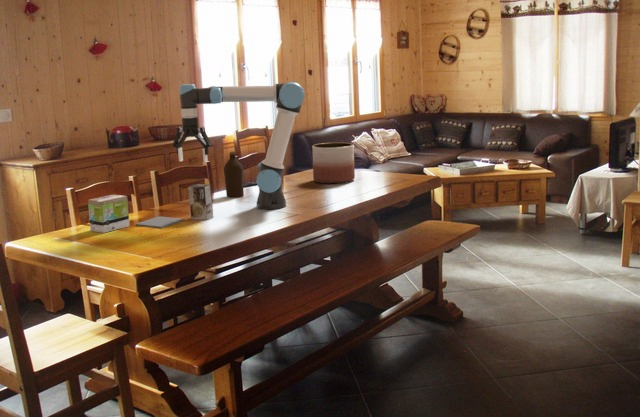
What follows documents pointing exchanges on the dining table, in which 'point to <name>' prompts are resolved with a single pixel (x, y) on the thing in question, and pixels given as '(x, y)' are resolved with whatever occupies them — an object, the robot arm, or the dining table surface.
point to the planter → (333, 163)
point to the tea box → (108, 213)
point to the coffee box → (200, 201)
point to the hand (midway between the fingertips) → (193, 161)
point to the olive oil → (233, 177)
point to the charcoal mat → (160, 222)
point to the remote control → (249, 184)
